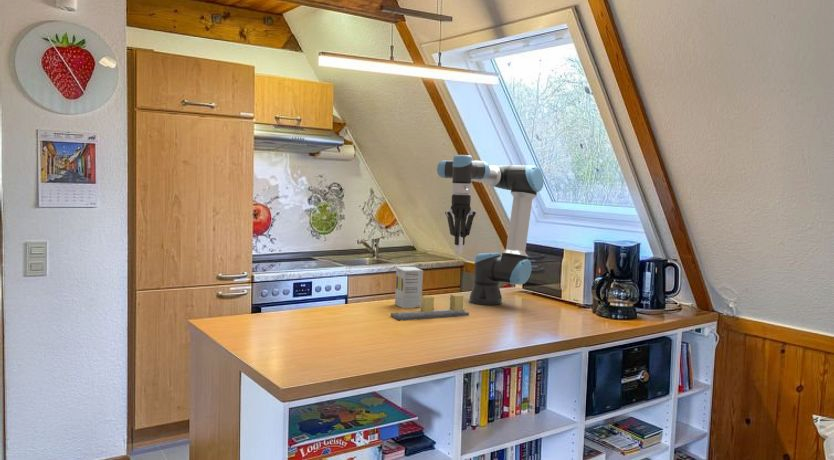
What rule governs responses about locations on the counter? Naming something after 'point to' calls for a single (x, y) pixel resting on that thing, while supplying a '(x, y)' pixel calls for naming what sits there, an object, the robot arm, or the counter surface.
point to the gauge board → (436, 311)
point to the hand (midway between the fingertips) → (459, 253)
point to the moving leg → (427, 303)
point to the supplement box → (408, 287)
